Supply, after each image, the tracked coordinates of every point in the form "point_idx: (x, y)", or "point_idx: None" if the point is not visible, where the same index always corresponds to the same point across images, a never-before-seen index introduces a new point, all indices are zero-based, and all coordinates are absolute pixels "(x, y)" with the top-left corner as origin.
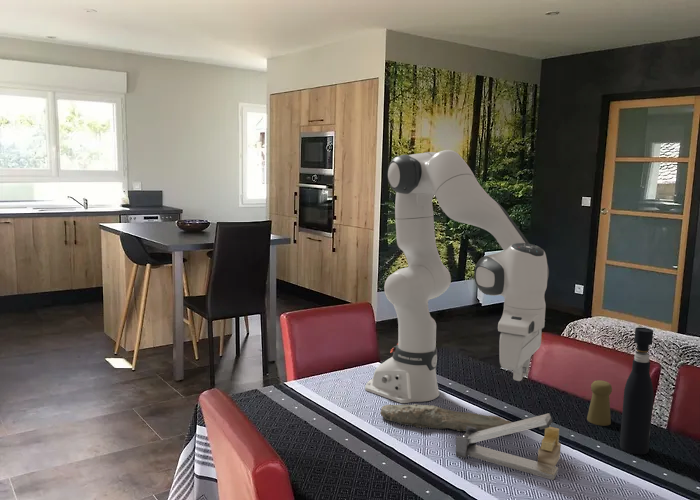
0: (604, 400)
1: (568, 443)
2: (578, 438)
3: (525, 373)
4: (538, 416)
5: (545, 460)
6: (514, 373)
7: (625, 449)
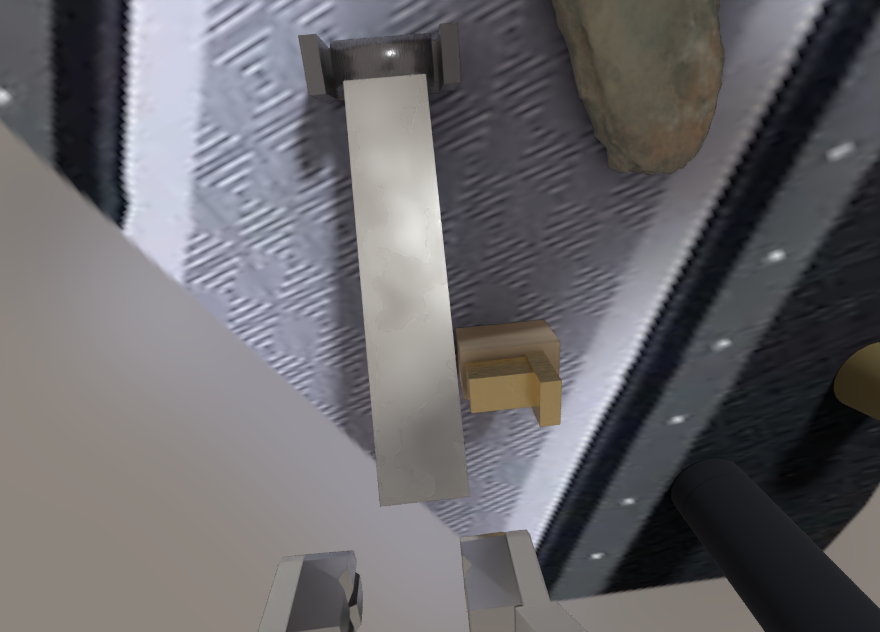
0: None
1: (655, 353)
2: (706, 365)
3: (467, 609)
4: (451, 442)
5: (459, 360)
6: (264, 629)
7: (680, 479)
